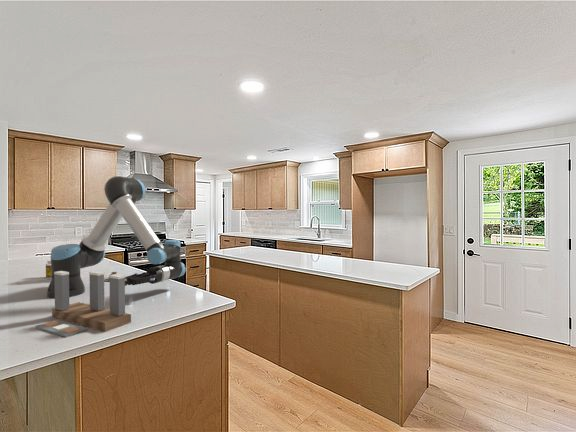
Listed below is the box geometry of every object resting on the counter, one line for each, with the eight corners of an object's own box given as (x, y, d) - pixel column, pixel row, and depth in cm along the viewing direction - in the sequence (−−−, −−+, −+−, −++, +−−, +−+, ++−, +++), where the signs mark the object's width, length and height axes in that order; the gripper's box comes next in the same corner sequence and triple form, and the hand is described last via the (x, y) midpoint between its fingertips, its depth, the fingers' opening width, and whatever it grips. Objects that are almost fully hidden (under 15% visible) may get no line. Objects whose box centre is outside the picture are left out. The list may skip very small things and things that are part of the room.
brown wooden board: (52, 316, 125) (51, 309, 125) (78, 309, 134) (78, 302, 134) (105, 331, 111) (105, 323, 111) (131, 322, 120) (130, 314, 120)
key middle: (96, 307, 127) (95, 271, 127) (104, 309, 125) (104, 272, 124) (89, 308, 125) (89, 272, 124) (98, 311, 123) (97, 273, 122)
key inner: (61, 306, 127) (61, 270, 127) (69, 308, 125) (69, 272, 124) (54, 308, 125) (54, 272, 124) (62, 310, 123) (61, 273, 122)
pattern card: (35, 327, 114) (35, 325, 114) (57, 321, 121) (57, 319, 121) (65, 337, 106) (65, 334, 106) (86, 330, 112) (86, 327, 112)
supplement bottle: (43, 278, 189) (43, 261, 188) (48, 276, 194) (48, 259, 194) (54, 278, 190) (54, 260, 190) (59, 276, 195) (58, 259, 195)
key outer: (116, 311, 122) (115, 274, 121) (125, 313, 120) (124, 275, 119) (109, 313, 119) (109, 275, 119) (118, 316, 117) (118, 276, 117)
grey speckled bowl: (99, 280, 188) (99, 272, 188) (121, 276, 197) (121, 269, 197) (106, 283, 180) (106, 275, 180) (129, 280, 188) (129, 272, 188)
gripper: (167, 283, 154) (122, 296, 133) (148, 280, 159) (102, 292, 138) (167, 267, 153) (122, 277, 132) (148, 265, 159) (101, 274, 138)
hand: (112, 285), depth 135 cm, fingers closed
